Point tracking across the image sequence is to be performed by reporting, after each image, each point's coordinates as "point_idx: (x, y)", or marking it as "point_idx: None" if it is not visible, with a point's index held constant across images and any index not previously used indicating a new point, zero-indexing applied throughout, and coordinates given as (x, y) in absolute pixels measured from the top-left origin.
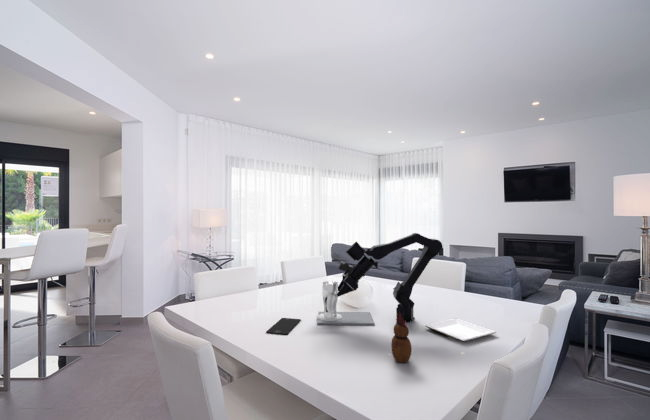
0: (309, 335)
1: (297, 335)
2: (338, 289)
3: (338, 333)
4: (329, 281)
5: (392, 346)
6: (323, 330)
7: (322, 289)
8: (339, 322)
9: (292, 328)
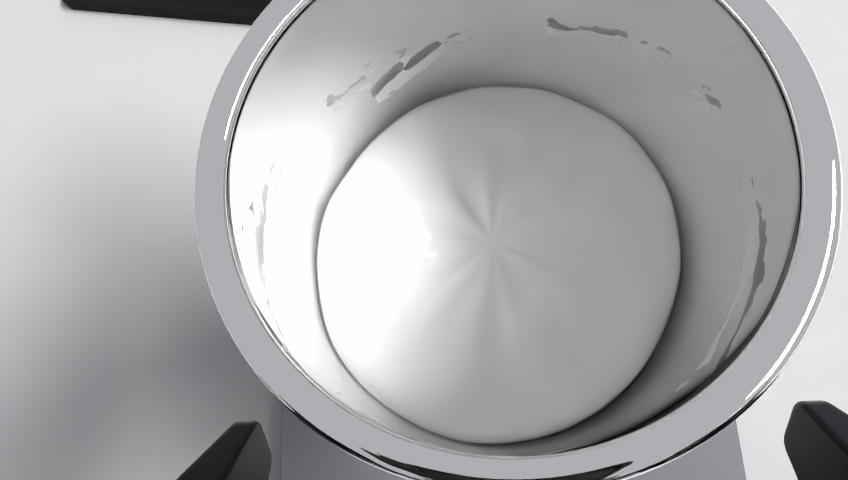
0: (42, 169)
1: (53, 80)
2: (820, 470)
3: (60, 421)
4: (788, 99)
5: None
6: (146, 273)
7: (450, 37)
8: (302, 432)
9: (173, 12)
